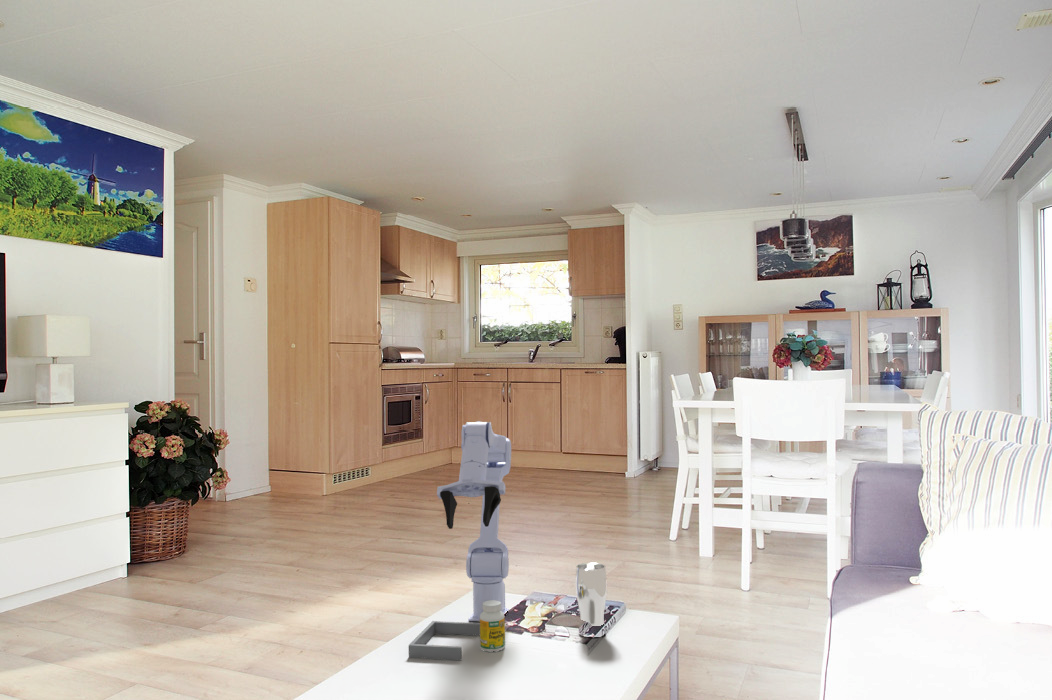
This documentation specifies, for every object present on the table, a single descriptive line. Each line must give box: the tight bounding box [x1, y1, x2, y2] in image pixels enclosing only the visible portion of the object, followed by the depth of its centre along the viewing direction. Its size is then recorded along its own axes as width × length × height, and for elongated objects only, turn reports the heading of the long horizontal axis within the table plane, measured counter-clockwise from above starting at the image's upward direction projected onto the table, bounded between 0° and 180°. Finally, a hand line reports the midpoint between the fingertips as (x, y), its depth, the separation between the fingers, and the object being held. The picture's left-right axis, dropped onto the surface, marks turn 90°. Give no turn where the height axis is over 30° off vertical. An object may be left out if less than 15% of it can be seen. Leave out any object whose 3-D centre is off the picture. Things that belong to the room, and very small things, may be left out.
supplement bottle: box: [479, 600, 506, 653], centre depth 159 cm, size 5×5×10 cm
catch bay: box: [408, 620, 480, 661], centre depth 161 cm, size 16×11×2 cm
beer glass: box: [575, 562, 608, 626], centre depth 167 cm, size 7×7×15 cm
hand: (467, 525), depth 152 cm, fingers open, 7 cm apart
